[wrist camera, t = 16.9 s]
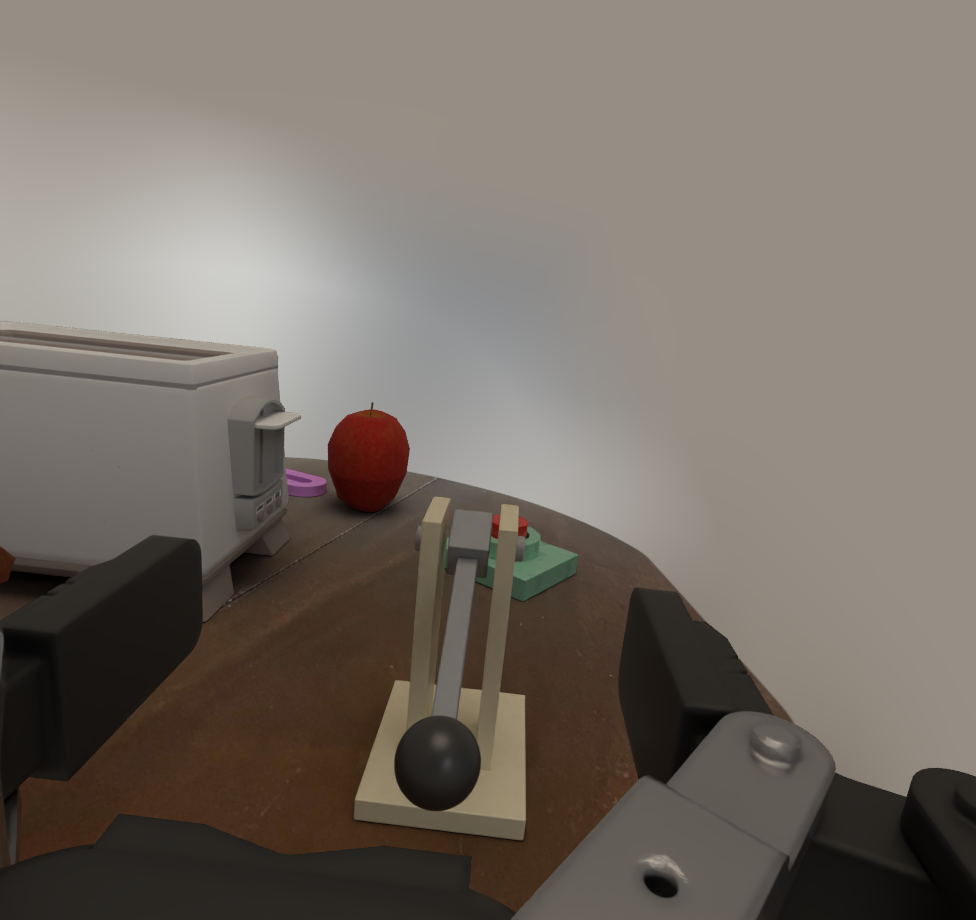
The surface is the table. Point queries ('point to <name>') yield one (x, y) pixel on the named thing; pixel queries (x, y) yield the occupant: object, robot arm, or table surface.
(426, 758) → the lever
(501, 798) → the bracket
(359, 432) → the apple
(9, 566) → the mug
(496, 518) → the button
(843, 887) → the robot arm
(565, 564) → the box
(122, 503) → the toaster
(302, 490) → the bracket
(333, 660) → the table surface
